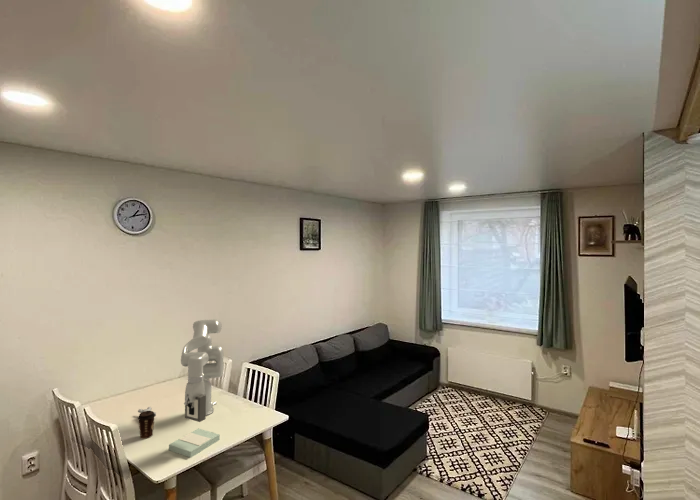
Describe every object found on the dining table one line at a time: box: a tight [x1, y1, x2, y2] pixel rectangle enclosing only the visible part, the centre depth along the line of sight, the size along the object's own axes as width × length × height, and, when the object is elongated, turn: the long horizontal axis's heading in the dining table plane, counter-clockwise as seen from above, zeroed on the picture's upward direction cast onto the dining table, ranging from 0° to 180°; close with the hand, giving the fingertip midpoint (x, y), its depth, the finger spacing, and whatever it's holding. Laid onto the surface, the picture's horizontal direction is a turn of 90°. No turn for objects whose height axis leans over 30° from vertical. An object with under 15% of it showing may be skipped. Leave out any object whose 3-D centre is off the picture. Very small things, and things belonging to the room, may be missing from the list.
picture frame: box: [184, 394, 207, 423], centre depth 207 cm, size 4×11×13 cm, turn 65°
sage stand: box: [168, 428, 220, 458], centre depth 207 cm, size 20×16×3 cm
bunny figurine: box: [137, 406, 157, 418], centre depth 238 cm, size 10×5×15 cm
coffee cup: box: [137, 410, 156, 440], centre depth 216 cm, size 9×8×13 cm
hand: (195, 412), depth 207 cm, fingers closed on picture frame, 4 cm apart
